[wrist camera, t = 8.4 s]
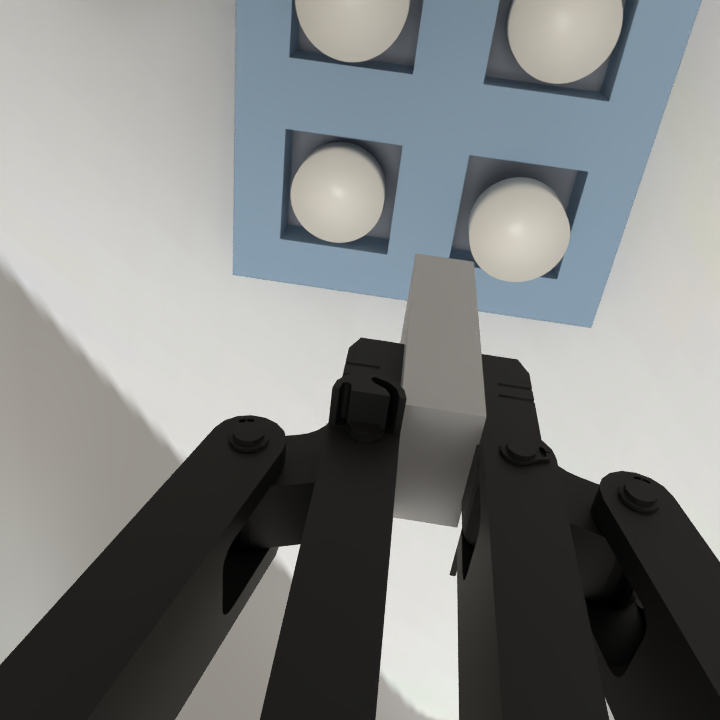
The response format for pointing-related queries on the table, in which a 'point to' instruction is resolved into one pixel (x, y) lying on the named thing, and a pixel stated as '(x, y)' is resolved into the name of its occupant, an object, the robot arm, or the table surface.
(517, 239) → the button
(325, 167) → the button
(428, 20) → the button board
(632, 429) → the table surface
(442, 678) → the table surface
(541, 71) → the button
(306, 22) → the button
